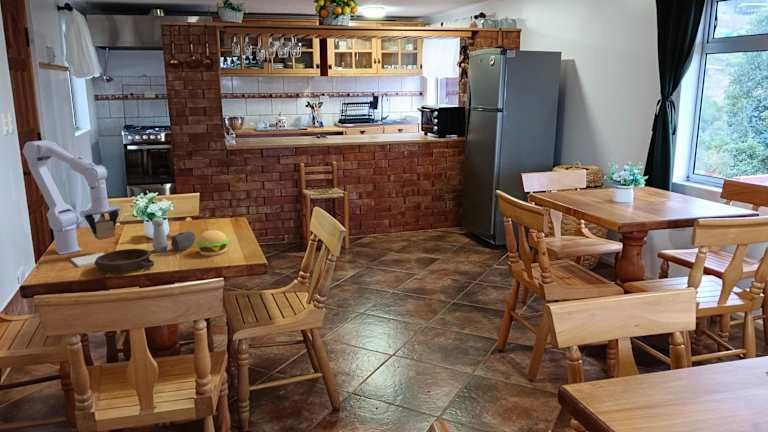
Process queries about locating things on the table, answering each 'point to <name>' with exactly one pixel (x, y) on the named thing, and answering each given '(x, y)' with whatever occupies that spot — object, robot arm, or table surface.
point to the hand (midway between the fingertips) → (103, 232)
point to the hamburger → (212, 243)
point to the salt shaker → (159, 235)
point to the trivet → (86, 260)
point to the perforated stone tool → (182, 241)
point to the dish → (124, 261)
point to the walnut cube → (104, 229)
